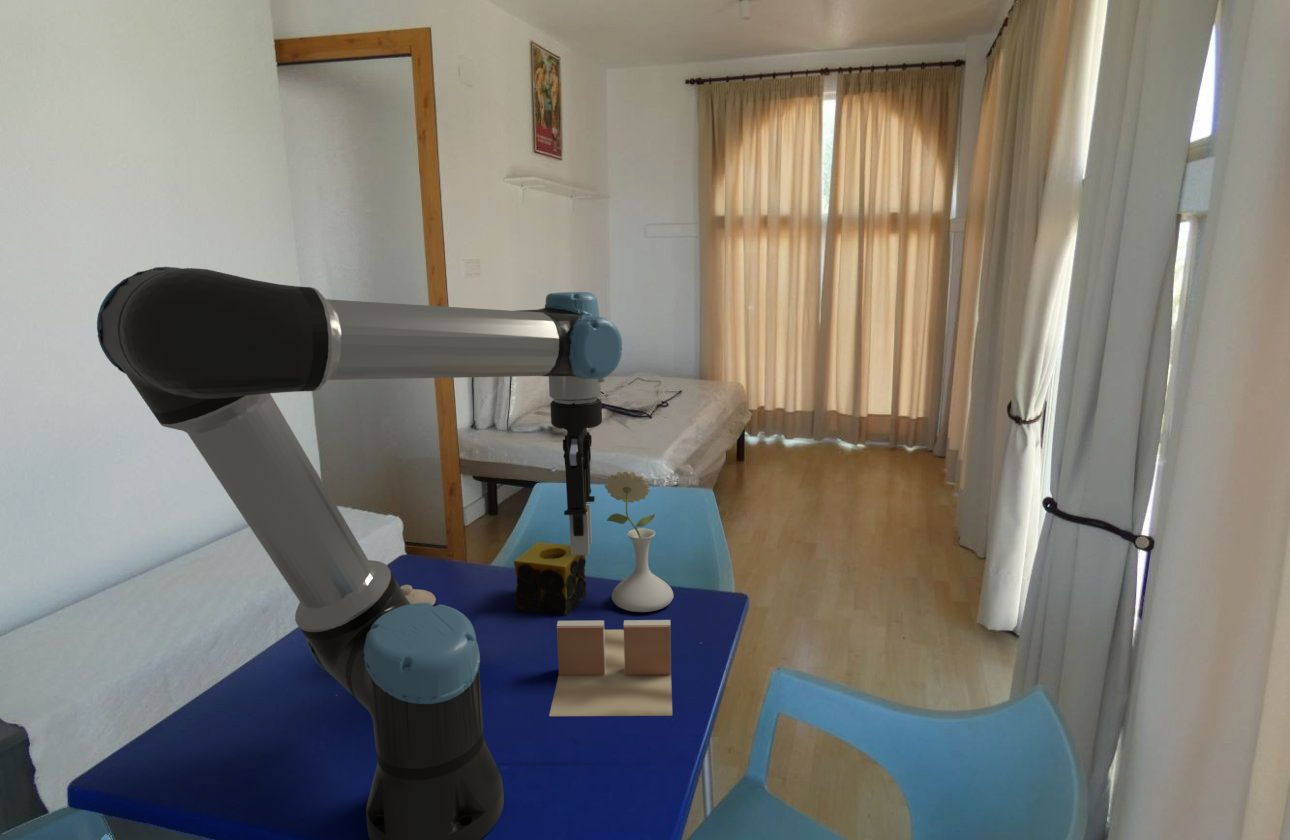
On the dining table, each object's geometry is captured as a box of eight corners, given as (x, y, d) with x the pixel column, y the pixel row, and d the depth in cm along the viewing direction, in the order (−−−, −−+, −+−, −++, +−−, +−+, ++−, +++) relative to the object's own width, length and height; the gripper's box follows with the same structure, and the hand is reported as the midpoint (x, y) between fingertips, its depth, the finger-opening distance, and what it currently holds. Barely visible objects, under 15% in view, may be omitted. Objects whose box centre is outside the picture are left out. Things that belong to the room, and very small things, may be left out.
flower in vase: (683, 597, 137) (683, 468, 132) (656, 624, 127) (654, 486, 122) (623, 584, 143) (619, 460, 138) (592, 608, 133) (587, 476, 128)
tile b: (671, 675, 110) (670, 626, 109) (624, 675, 110) (623, 626, 109) (670, 667, 112) (670, 619, 111) (625, 668, 112) (624, 620, 111)
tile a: (604, 675, 111) (603, 626, 109) (558, 675, 111) (556, 627, 109) (605, 668, 112) (604, 620, 111) (560, 668, 113) (558, 620, 111)
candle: (514, 613, 132) (511, 561, 130) (538, 589, 142) (536, 540, 139) (567, 620, 129) (564, 567, 127) (587, 595, 139) (586, 545, 136)
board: (672, 719, 101) (672, 715, 101) (549, 720, 101) (549, 716, 101) (669, 632, 124) (669, 629, 124) (569, 633, 124) (569, 629, 124)
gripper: (596, 409, 99) (601, 570, 105) (605, 388, 116) (609, 529, 121) (541, 410, 100) (549, 571, 105) (557, 389, 116) (563, 529, 121)
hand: (581, 548), depth 113 cm, fingers open, 3 cm apart
